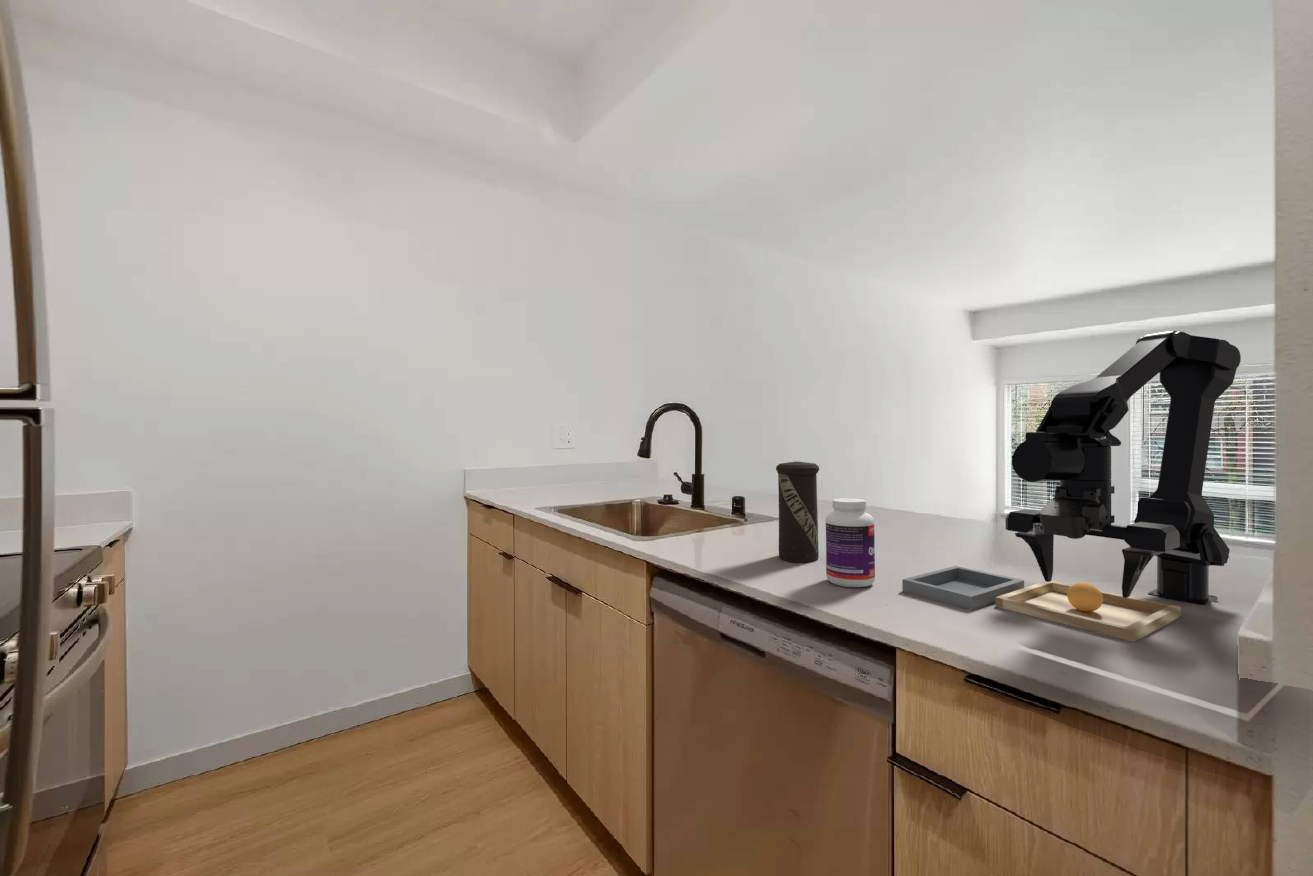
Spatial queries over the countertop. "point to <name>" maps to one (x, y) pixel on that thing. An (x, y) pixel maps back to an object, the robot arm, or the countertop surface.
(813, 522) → the container
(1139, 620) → the dish
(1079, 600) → the ball
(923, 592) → the tray
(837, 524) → the pill bottle
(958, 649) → the countertop surface
